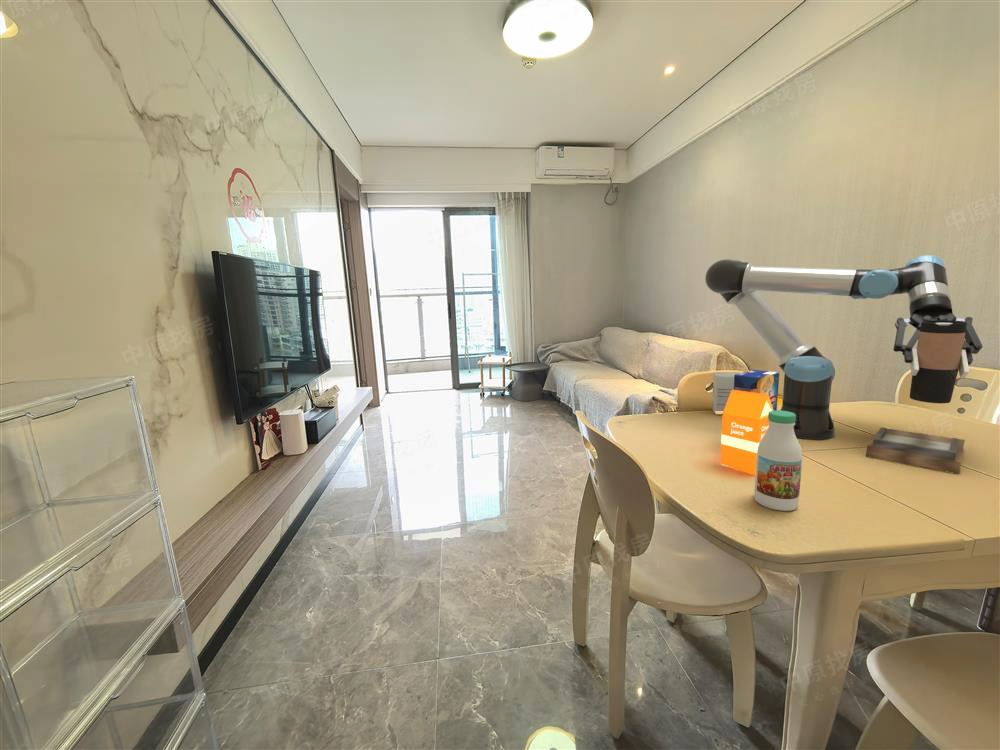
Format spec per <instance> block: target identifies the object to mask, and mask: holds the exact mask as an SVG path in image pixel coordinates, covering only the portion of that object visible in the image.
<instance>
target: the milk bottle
mask: <svg viewBox="0 0 1000 750" xmlns="http://www.w3.org/2000/svg"><path fill="white" fill-rule="evenodd" d="M795 421H796V415H795V414H794V413H792V412H788V411H780V410H778V409H777V410H775V411H770V412H769V413H768V422H769V427H768V429H767V431H766V433H765V435H764V436H763V438H762V439H761V441H760V443H759V446H758V450H757V460H756V473H755V476H754V490H753V491H754V492H753V494H754V495H753V497H754V499H755V501H756V503H758V504H760V505H762V506H763V507H765V508H768V509H771V510H775V511H781V512H788V511H789V512H791V511H794V510H796V509H797V508H798V507H799V502H800V491H801V489H800V488H801V481H802V480H801V477H802V465H803V464H802V463H803V459H802V458H803V453H802V448H801V445H800V442H799V441H798V437H796V436H795V433H794V425H795Z"/></svg>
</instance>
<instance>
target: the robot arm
mask: <svg viewBox="0 0 1000 750" xmlns="http://www.w3.org/2000/svg"><path fill="white" fill-rule="evenodd" d="M704 280H705V284H706V286H707V287H708V289H709V290H710V291H712V292H713V293H716V294H720V296H722V298H723V299H724V300H725V302H726V303H727V304H728V305H734V306H736V308H737V309H738V310H739V312H740V313H741V314H742V315H743V316H744V317H745V319H746V320H747V321H748V322H749V323H750V324H751V326H752V327H753V328H754V329H755V331H756V332H757V333H758V335H759V336H760V337H761V338H762V339H763V340H764V342H765V343H766V344H767V345H768V347H769V348H770V349H771V350H772V351H773V353H774V354H775V355H776V357H778V364H777V365H778V366H779V368H780V369H781V370H782V372H783V373H784V376H783V389H782V391H783V392H782V401H781V402H782V404H781V408H780V411H788V412H792V413H794V414H795V415H796V421H795V425H794V433H795V436H796V438H797V439H798V438H800V439H808V440H828V439H832V438H834V437H835V432H836V431H835V425H834V421H833V418H832V416H831V413H830V404H831V394H832V383H833V381H834V379H835V376H836V369H835V366H834V363H833V361H832V360H830V359H829V358H827V357H825V356H824V355H823V354H822V353H821V352H820V351H819V350H818V348H817V347H816V346H815V345H814V344H813V345H812V344H808V343H807V344H806V343H805V342H804V340H803V339H802V338H801V337H800V336H799V335H798V334H797V332H796V331H795V329H793V327H791V325H790V324H789V323H788V322H787V320H786V319H785V318H784V317H783V315H782V314H781V313H780V312H779V311H778V310H777V309H776V308H775V307H774V305H773V304H772V303H771V301H769V299H768V298H767V297H766V296H765V295H764V293H763V292H764V291H766V292H778V293H780V292H781V293H792V294H793V293H796V294H809V295H810V294H812V295H825V296H826V295H827V296H840V297H841V296H842V297H851V298H852V299H853V300H861V299H862V300H864V299H865V300H867V299H874V300H876V299H878V300H879V299H884V298H886V297H887V296H894V295H902V294H907V296H908V306H909V307H908V308H909V316H910V317H909V318H903V317H897V319H896V321H895V323H894V326H895V328H896V333H895V340H894V345H893V349H892V350H893V351H894V352H896V353H897V352H898V353H899V352H901V353H902V356H903V359H904V362H905V363H906V364H910V365H909V366H910V375H911V376H912V375H914V376H916V374H917V372H918V371H919V364H918V355H917V348H914V346H915V345H916V343H918V338H919V333H920V328H921V323H922V321H933V320H948V321H965V322H967V327H966V332H965V338H964V343H963V348H962V354H961V359H960V365H959V370H958V374H959V378H960V379H966V377H967V376H968V374H969V373H970V367H969V366H971V365H972V363H973V361H974V359H973V354H974V355H976V354H979V352H980V351H981V350H982V348H983V344H982V342H981V340H980V338H979V336H978V334H977V332H976V329H975V327H974V325H973V320H974V318H973V317H971V316H966V317H965V318H960V317H959V318H957V316H955V315H954V313H953V312H954V311H953V307H952V301H951V295H950V290H949V284H948V277H947V268H946V267H945V264H944V260H942V257H941V258H940V257H939V256H937V255H931V254H929V255H926V254H925V255H920V256H917V257H916V258H913V259H911V260H908V262H907V263H906V265H905V266H904V267H899V268H891V269H885V268H884V269H882V268H881V269H880V268H878V269H862V268H861V269H855V268H829V267H827V268H826V267H825V268H824V267H804V266H802V267H799V266H796V267H794V266H770V265H769V266H765V265H754V264H753V263H752V262H744V261H741V260H735V259H734V260H733V259H730V258H729V259H727V258H726V259H725V258H724V259H720V260H718V261H715V262H714V263H712V264H711V265H710V266H709V268H707V270H706V273H705V277H704ZM908 325H910V326H912V327H913V328H915V329H916V330H915V331H914V332H913V335H911V337H910V339H909V341H908V342H907V343H906V344H904V339H905V332H906V328H907V327H908Z"/></svg>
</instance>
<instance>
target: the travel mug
mask: <svg viewBox="0 0 1000 750" xmlns="http://www.w3.org/2000/svg"><path fill="white" fill-rule="evenodd" d="M966 327H967V322H965V321H948V320H933V321H922V323H921V328H920V333H919V338H918V340H917V344H916V349H917V355H918V364H919V371H918V372H917V374H916V376H914V375H911V381H910V390H909V398H910V399H911V400H913V401H917V402H922V403H928V404H929V403H931V404H949V403H951V401H952V397H953V392H954V390H955V386H956V382H957V378H958V374H959V365H960V359H961V354H962V348H963V343H964V340H965V332H966Z"/></svg>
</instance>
